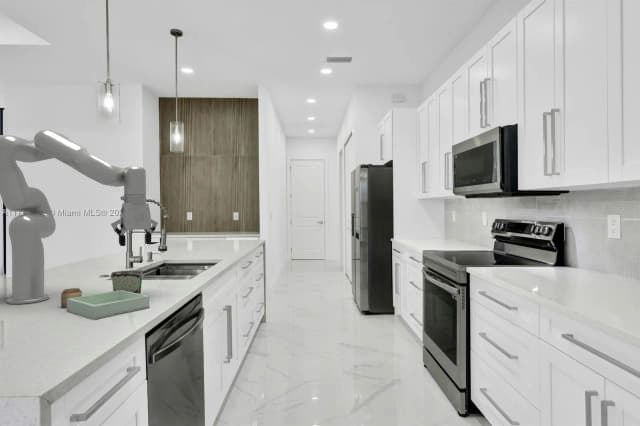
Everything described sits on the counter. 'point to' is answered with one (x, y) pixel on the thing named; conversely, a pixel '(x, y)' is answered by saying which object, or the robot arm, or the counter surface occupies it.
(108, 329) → the counter surface
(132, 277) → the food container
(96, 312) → the bin
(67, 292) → the salt cellar
